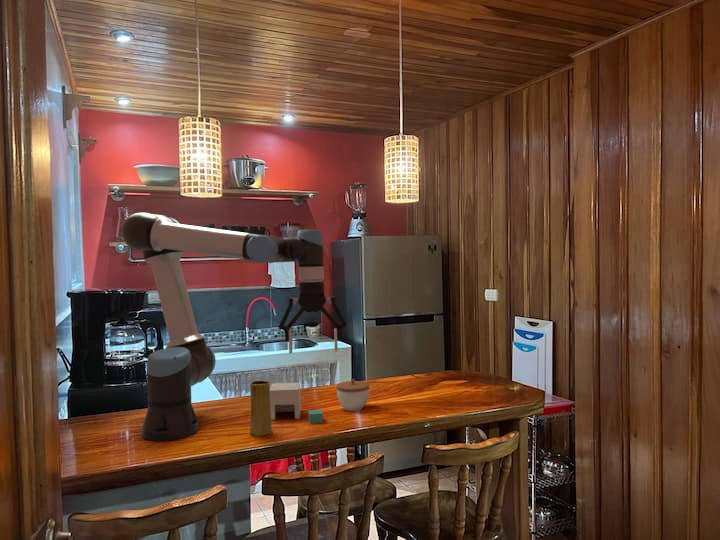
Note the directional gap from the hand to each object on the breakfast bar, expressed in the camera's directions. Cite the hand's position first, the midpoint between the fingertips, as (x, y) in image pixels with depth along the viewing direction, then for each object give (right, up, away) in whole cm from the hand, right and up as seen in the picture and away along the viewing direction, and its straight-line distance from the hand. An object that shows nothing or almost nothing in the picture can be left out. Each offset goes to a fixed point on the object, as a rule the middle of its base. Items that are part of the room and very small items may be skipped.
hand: (313, 351), depth 155 cm
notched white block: (-9, -21, +7) cm, 24 cm away
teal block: (+1, -21, 0) cm, 21 cm away
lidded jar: (+12, -21, +13) cm, 27 cm away
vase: (-14, -22, -9) cm, 27 cm away
